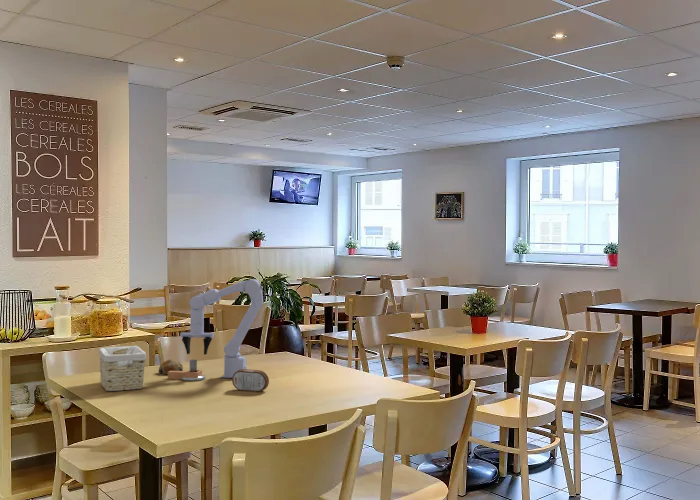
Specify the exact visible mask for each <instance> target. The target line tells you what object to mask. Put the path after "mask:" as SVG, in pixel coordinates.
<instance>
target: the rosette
mask: <svg viewBox="0 0 700 500" xmlns="http://www.w3.org/2000/svg"><path fill="white" fill-rule="evenodd" d="M180 380H181V381H184V382H199V381H205V380H206V375H205V374H202V375H201V376H200V377H198V378H189V377H181V379H180Z"/></svg>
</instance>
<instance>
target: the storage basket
mask: <svg viewBox="0 0 700 500" xmlns="http://www.w3.org/2000/svg"><path fill="white" fill-rule="evenodd" d="M98 355H99V373H100V384H101V385H102V387H103V388H104V390H105V391H106V392H118V391H120V392H121V391H124V390H125V391H129V390H139V389H140V390H141V389H143V386H144V385H143V384H144V378H145V377H144V375H145V366H146V360H147V353H146V352H145V351H144V350H143V349H142V348H141V347H140V346H138V345H126V346H125V345H123V346H113V347H112V346H111V347H101V348H99V350H98Z"/></svg>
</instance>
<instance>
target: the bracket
mask: <svg viewBox="0 0 700 500" xmlns="http://www.w3.org/2000/svg"><path fill="white" fill-rule="evenodd" d="M201 375H203V370H202V369H197V372H190V369H188V370H185V371H184V370H183V371H169V372H168V375H167V379H168V380H181V377H189V378H198V377H200V376H201Z"/></svg>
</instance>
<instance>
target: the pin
mask: <svg viewBox="0 0 700 500" xmlns="http://www.w3.org/2000/svg"><path fill="white" fill-rule="evenodd" d="M197 368H198V360H197V359H189V370H190V372H197V370H198V369H197Z"/></svg>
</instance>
